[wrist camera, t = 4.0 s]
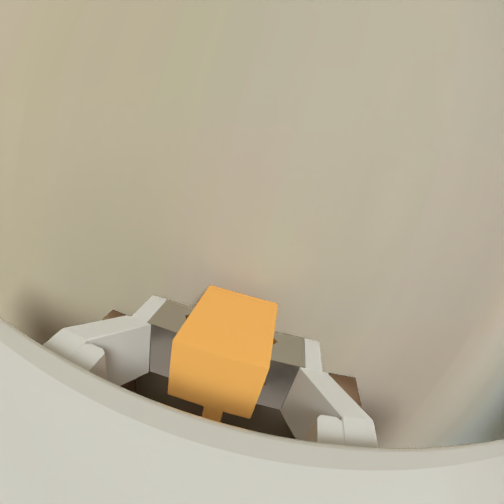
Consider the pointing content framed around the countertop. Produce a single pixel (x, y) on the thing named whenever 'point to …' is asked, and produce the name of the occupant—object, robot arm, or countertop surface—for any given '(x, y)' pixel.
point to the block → (223, 353)
